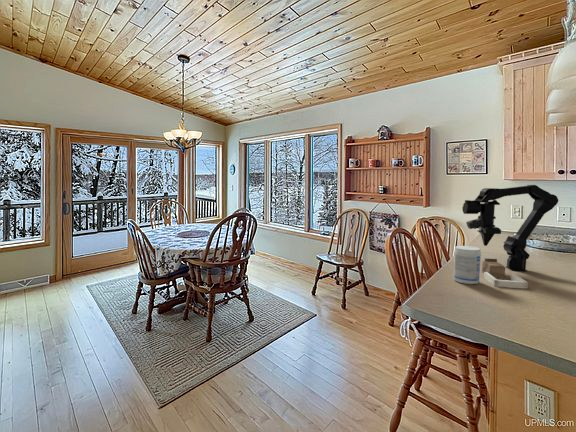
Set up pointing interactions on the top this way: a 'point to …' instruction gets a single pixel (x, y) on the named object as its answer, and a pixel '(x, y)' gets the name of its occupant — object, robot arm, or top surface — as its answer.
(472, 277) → the supplement tub
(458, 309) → the top surface
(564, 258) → the top surface
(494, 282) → the bay
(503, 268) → the block
